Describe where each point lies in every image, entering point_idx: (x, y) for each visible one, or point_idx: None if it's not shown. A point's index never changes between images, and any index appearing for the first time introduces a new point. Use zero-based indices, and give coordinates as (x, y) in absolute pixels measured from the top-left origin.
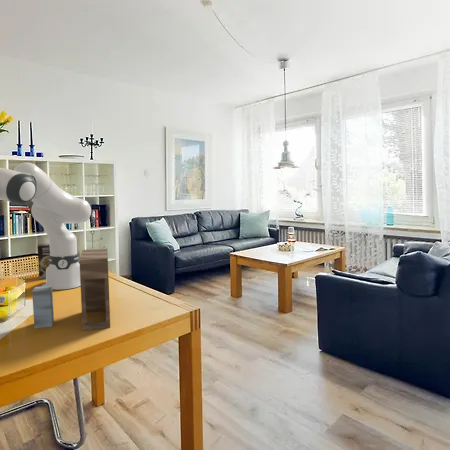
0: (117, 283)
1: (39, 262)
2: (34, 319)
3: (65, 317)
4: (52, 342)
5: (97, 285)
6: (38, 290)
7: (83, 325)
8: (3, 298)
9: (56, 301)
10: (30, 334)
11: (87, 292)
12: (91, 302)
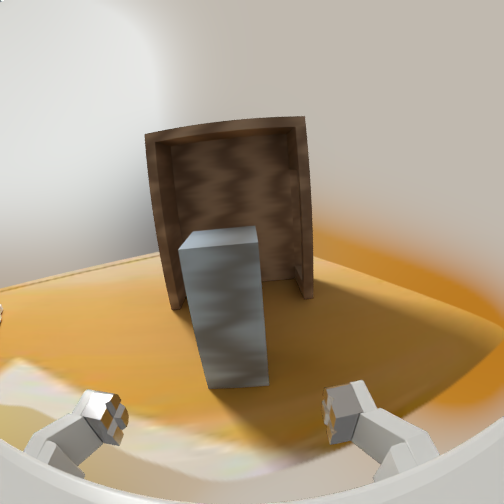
0: (45, 284)
1: None
2: (266, 358)
3: None
4: (382, 322)
5: (175, 231)
6: (251, 236)
7: (312, 285)
8: (115, 398)
9: (42, 352)
10: (326, 380)
11: (172, 255)
12: (179, 279)
